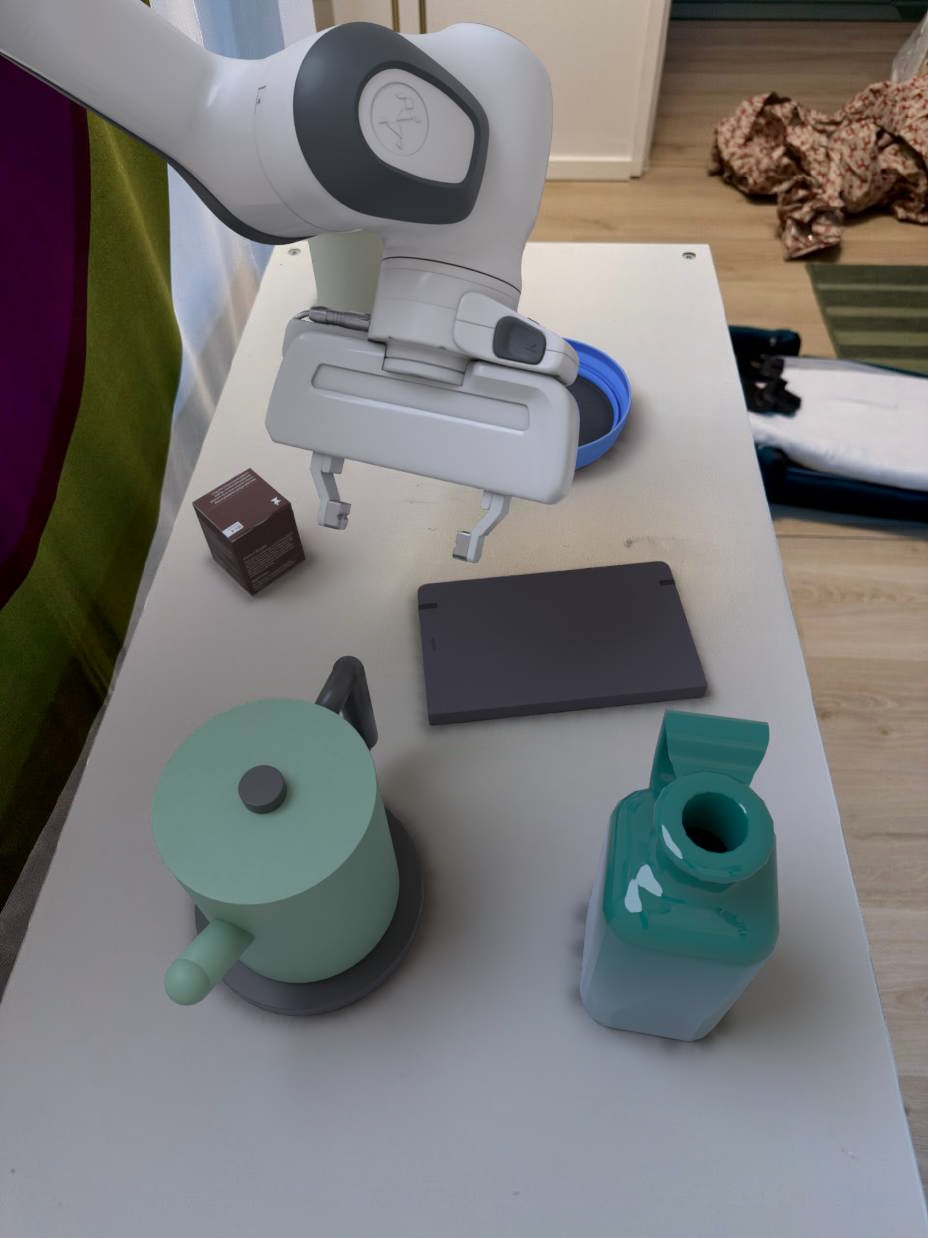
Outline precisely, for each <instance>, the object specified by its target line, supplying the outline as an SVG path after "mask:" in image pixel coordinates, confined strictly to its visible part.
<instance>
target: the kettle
mask: <svg viewBox="0 0 928 1238" xmlns="http://www.w3.org/2000/svg"><path fill="white" fill-rule="evenodd" d="M372 703H373V702H372V698H371V694H370V689H369V684H368V680H367V675H366V670H365V667H364V664H363V662H362V661H361V660H360V659H359V658H358V657H355V656H353V655H343V656H341V657H339V658H338V659H337V660H335V662H334V663H333V665H332V669H331V672H330V674H329V676H328V677H327V679H326V681H325V683H324V685H323V686H322V688H321V690H320V692H319V694H318V696H317V698H316V699H315V701H314V702H311V701H306V700H302V699H296V698H295V699H294V698H267V699H266V698H265V699H259V700H254V701H249V702H245V703H243V704H240V705H237V706H233V707H232V708H229V709H227V710H225V711H222V712H220V713H218V714H217V715H215V716H214V717H212V718H210V719H208V720H207V721H205V722H204V723H203V724H201V725H200V726H199V727H197V728H196V729H195V730H193V732H191V733H190V734H189V735H188V736H187V737H186V738H185V739H184V740H183V741H182V742H181V743H180V745H179V746H178V747H177V748H176V749H175V750H174V752H173V753H172V755H171V756H170V757H169V759H168V760H167V762H166V763H165V766H164V767H163V770H162V771H161V774H160V776H159V778H158V781H157V784H156V786H155V790H154V793H153V797H152V804H151V812H150V813H151V814H150V815H151V830H152V835H153V841H154V844H155V846H156V849H157V852H158V853H159V855H160V856H159V857H161V859H162V862H163V863H164V865H165V866H166V868H167V869H168V870H169V871H170V873H171V874H172V875H173V876H174V878H175V879H176V880H177V882H178V883H179V884H180V886H181V887H182V888H183V889H184V891H185V892H186V894H187V895H188V896H189V897H190V898H191V900H192V901H193V903H194V905H195V904H196V905H197V906H198V908H199V909H200V910H201V911H202V913H203V914H204V915H205V917H206V918H207V919H208V921H209V922H210V924H209V925H208V926H207V927H206V928H205V929H204V930H203V931H202V932H201V933H200V934H199V935H198V934H197V936H196V937H195V938H194V939H193V940H192V941H191V942H190V943H189V944H188V946H186V948H185V949H184V950H183V951H182V952H181V953H180V954H179V955H178V956H177V957H176V958H175V959H174V960H173V962H171V963H170V965H169V966H168V968H167V970H166V972H165V975H164V979H163V984H164V991H165V993H166V995H167V997H168V998H169V999H170V1000H171V1001H172V1002H173V1003H175V1004H177V1005H179V1006H185V1007H186V1006H187V1007H188V1006H193V1005H197V1004H199V1003H200V1002H202V1001H203V1000H204V999H206V997H207V996H209V994H210V993H211V992H212V991H213V989H214V988H216V986H217V985H218V984H219V982H220V981H222V980H221V979H222V978H223V976H224V975H225V974H226V973H227V972H228V970H229V969H230V968H231V967H232V966H233V965H234V963H235V962H236V961H237V960H238V959H239V960H240V961H241V962H242V963H243V964H245V965H246V966H247V967H248V968H250V969H251V970H253V971H254V972H256V973H258V974H260V975H262V976H264V977H267V978H270V979H273V980H276V981H281V982H288V983H307V982H315V981H319V980H323V979H327V978H330V977H332V976H335V975H337V974H340V973H342V972H343V971H345V970H347V969H349V968H351V967H352V966H354V965H355V964H356V963H358V962H359V961H360V960H362V959H363V958H364V957H365V956H366V955H367V954H368V953H369V952H370V951H372V949H373V948H374V947H375V946H376V945H377V943H378V942H379V941H380V940H381V938H382V937H383V935H384V933H385V932H386V930H387V929H388V927H389V924H390V922H391V920H392V918H393V915H394V912H395V909H396V906H397V901H398V896H399V871H398V866H397V861H396V857H395V852H394V848H393V844H392V839H391V835H390V831H389V826H388V822H387V818H386V813H385V809H384V807H385V805H384V801H383V800H384V799H383V796H382V793H381V792H382V791H381V788H380V783H379V779H378V775H377V771H376V766H375V762H374V760H373V757H372V754H371V751H372V749H373V748H374V747H375V746H376V744H377V743H378V740H379V732H378V726H377V722H376V717H375V712H374V708H373V704H372ZM340 714H342V716H341V715H340Z"/></svg>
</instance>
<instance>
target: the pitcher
mask: <svg viewBox="0 0 928 1238" xmlns="http://www.w3.org/2000/svg"><path fill="white" fill-rule="evenodd" d="M769 743H770V725H769V722H767V721H760V720H752V719H745V718H738V717H737V718H736V717H730V716H723V715H716V714H714V715H713V714H709V713H700V712H692V711H684V710H677V709H671V708H670V709H669V708H665V709H664V713H663V717H662V720H661V725H660V729H659V733H658V737H657V741H656V745H655V750H654V754H653V760H652V765H651V772H650V777H649V784H648V787H646V788H641V789H637V790H634V791H632V792H630V793H628V794H627V795H626V796H624V797H623V798H622V799H620V800H618V802H617V803H616V805H615V806H614V808H613V809H612V811H611V813H610V815H609V817H608V821H607V825H606V830H605V833H604V838H603V842H602V847H601V851H600V855H599V859H598V863H597V868H596V872H595V877H594V881H593V884H592V890H591V894H590V897H589V902H588V906H587V910H586V911H587V912H586V920H585V928H584V929H585V930H584V940H583V949H582V950H583V951H582V962H581V972H580V984H579V994H580V999H581V1002H582V1006H583V1007H584V1009H585V1010H586V1012H587V1013H588V1014H589V1015H590V1017H591V1018H592V1019H593V1020H594V1021H596V1022H597V1023H599V1024H601V1025H602V1026H604V1027H607V1028H612V1029H617V1030H618V1029H619V1030H623V1031H629V1032H634V1033H639V1034H646V1035H651V1036H656V1037H663V1038H667V1039H674V1040H679V1041H685V1042H693V1041H696V1040H700V1039H703V1038H705V1037H706V1036H707V1034H709V1033H710V1032H712V1030H714V1029H715V1027H716V1026H717V1025H718V1023H719V1022H720V1021H721V1019H722V1018H723V1017H724V1016H725V1015H726V1013H727V1012H728V1011H729V1010H730V1008H731V1007H732V1006H733V1005H734V1004H735V1002H736V1001H737V1000H738V998H739V997H740V996H741V995H742V993H744V991H745V990H746V989H747V987H749V985H750V984H751V982H752V981H753V980H754V978H755V977H756V976H757V975H758V974H759V972H760V971H761V970H762V969H763V967H765V966H766V964H767V962H769V960H770V959H771V958H772V956H773V955H774V952H775V950H776V948H777V945H778V943H779V940H780V938H781V933H780V932H781V929H780V899H779V870H778V842H777V841H778V840H777V835H776V832H775V821H774V820H773V817H772V815H771V813H770V811H769V809H768V807H767V805H766V803H765V800H764V799H763V798H762V797H761V796H759V794H757V793H756V791H755V790H754V789H753V788H752V787H751V786H750V785H751V783H752V782H753V779H754V776H755V774H756V772H757V771H758V769H759V767H760V766H761V764H762V762H763V760H764V758H765V756H766V752H767V750H768V746H769Z"/></svg>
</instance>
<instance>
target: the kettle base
mask: <svg viewBox="0 0 928 1238" xmlns="http://www.w3.org/2000/svg"><path fill="white" fill-rule="evenodd" d="M384 809H385V813H386V818H387V822H388V826H389V831H390V835H391V839H392V844H393V848H394V852H395V857H396V861H397V866H398V871H399V896H398V901H397V906H396V909H395V912H394V915H393V918H392V920H391V922H390V924H389V927H388V929H387V930H386V932H385V933H384V935H383V937H382V938H381V940H380V941H379V942H378V943H377V945H376V946H375V947H374V948H373V949H372V951H370V952H369V953H368V954H367V955H366V956H365V957H364V958H363V959H362V960H360V961H359V962H358V963H356V964H355V965H354V966H352V967H351V968H349V969H347V970H345V971H343V972H342V973H340V974H337V975H335V976H332V977H330V978H327V979H323V980H319V981H315V982H307V983H288V982H281V981H276V980H273V979H270V978H267V977H264V976H262V975H260V974H258V973H256V972H254V971H253V970H251V969H250V968H248V967H247V966H246V965H245V964H243V963H242V962H241V961H240V960H239V959H238V960H237V961H236V962H235V963H234V965H233V966H232V967H231V968H230V969H229V970H228V972H227V973H226V974H225V975H224V976H223V978H222V979H221V980H220V981H222V982H223V983H224V984H225V986H227V987H228V989H230V990H231V991H232V992H233V994H235V995H236V996H238V997H239V998H241V999H242V1000H244V1001H246V1002H247V1003H248V1004H250V1005H252V1006H255V1007H257V1008H258V1009H260V1010H264V1011H267V1012H271V1013H274V1014H279V1015H285V1016H295V1017H296V1016H297V1017H298V1016H299V1017H302V1016H305V1017H306V1016H314V1015H315V1016H316V1015H323V1014H326V1013H330V1012H334V1011H336V1010H339V1009H343V1008H344V1007H347V1006H349V1005H351V1004H354V1003H355V1002H357V1001H359V1000H361V999H362V998H364V997H366V996H368V995H369V994H371V993H372V992H373V991H374V990H376V989H378V987H380V986H381V985H382V984H383V983H384V982H385V981H386V980H387V979H388V978H389V977H391V975H393V973H394V972H395V971H396V969H397V968H398V966H400V964H401V963H402V962H403V960H404V958H405V957H406V955H407V954H408V952H409V951H410V948H411V947H412V944H413V942H414V940H415V938H416V935H417V934H418V929H419V926H420V924H421V921H422V920H421V919H422V915H423V909H424V897H425V888H424V878H423V877H424V876H423V871H422V865H421V862H420V858H419V857H420V856H419V854H418V851H417V849H416V846H415V843H414V841H413V840H412V837H411V836H410V834H409V833H408V831H407V829H406V827H405V826H404V825H403V824H402V822H401V821H400V820H399V819H398V817H396V816H395V815H394V814H393V813H392V812H391V811H390V810H389V809H388V808H387V807H385V806H384ZM194 919H195V920H194V921H195V927H196V928H195V929H196V933H197V936H198V935H199V934H200V933H201V932H202V931H203V930H204V929H205V928H206V927H207V926H208V925H209V924H210V922H209V921H208V919H207V918H206V917H205V915H204V914H203V913H202V911H201V910H200V909H199V908H198V906H197V905H196V904H195V903H194Z"/></svg>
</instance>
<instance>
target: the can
mask: <svg viewBox="0 0 928 1238" xmlns="http://www.w3.org/2000/svg"><path fill="white" fill-rule="evenodd" d="M307 243H308V244H307V245H308V248H309V254H310V258H311V265H312V271H313V277H314V282H315V288H316V295H317V298H318V299H317V301H318V306H326V307H330V308H332V309H334V310H339V311H353V312H359V313H364V314H372V309H373V304H374V298H375V293H376V288H377V283H378V277H379V272H380V267H381V262H382V256H383V251H384V246H383V242H382V240H381V238H380V237H379V236H378V235H376V234H374V233H371V232H368V231H366V230H363V229H357V230H354V231H349V232H341V233H332V234H323V235H317V236H314V237H311V238H308V239H307ZM331 326H336V325H331ZM336 327H340V326H336ZM342 328H343V327H342Z"/></svg>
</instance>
